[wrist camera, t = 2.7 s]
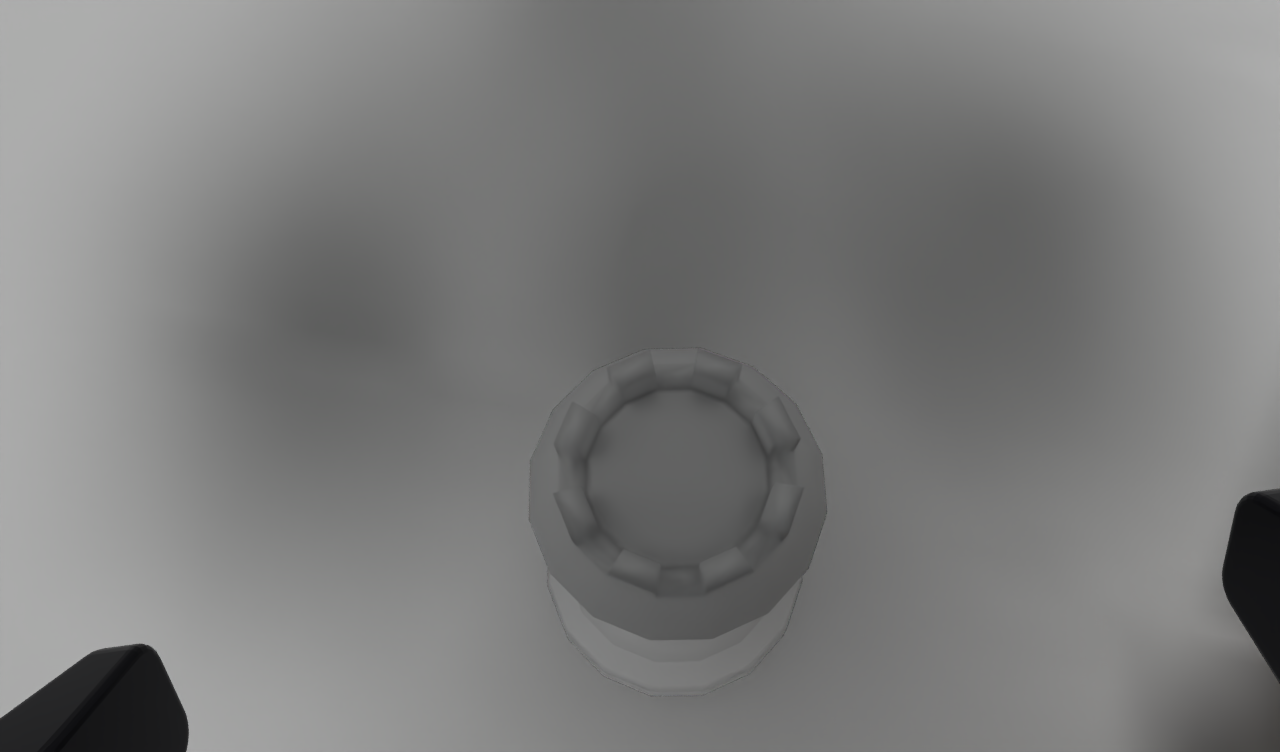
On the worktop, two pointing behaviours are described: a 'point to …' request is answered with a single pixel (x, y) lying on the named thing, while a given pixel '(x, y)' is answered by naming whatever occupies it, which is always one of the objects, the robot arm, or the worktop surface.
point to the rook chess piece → (676, 517)
